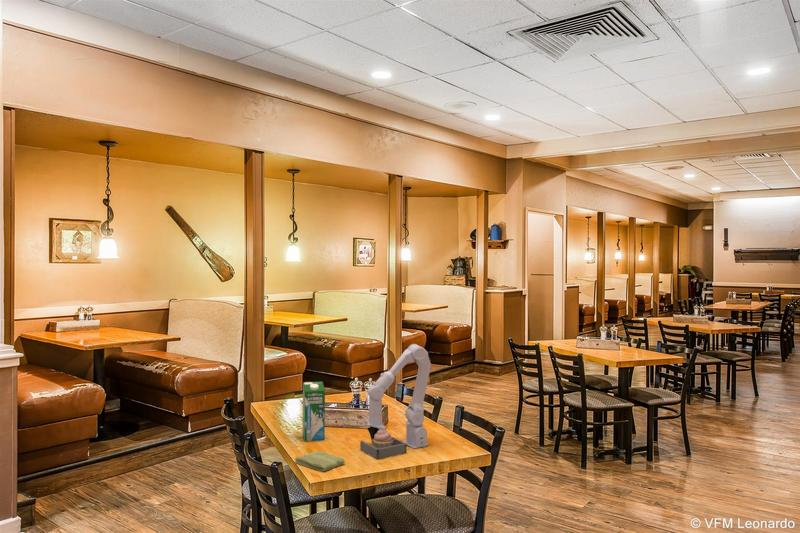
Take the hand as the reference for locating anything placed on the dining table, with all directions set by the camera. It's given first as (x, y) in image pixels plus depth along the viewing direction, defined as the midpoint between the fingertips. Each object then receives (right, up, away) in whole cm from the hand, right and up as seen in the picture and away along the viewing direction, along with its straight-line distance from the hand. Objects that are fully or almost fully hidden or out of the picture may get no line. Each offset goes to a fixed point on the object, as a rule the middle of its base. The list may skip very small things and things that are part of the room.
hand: (374, 443), depth 249 cm
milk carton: (-29, -1, +12) cm, 31 cm away
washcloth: (-21, -2, -20) cm, 30 cm away
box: (+4, -2, -5) cm, 6 cm away
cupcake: (+4, -2, -5) cm, 6 cm away
